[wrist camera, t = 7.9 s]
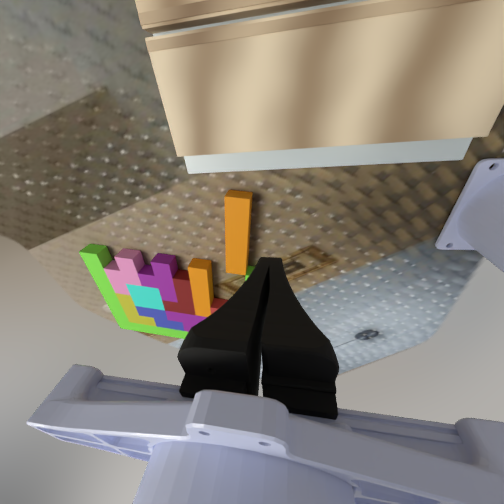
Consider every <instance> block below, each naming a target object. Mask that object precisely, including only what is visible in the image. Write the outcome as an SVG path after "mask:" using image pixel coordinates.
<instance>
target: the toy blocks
mask: <svg viewBox="0 0 504 504" xmlns="http://www.w3.org/2000/svg"><path fill="white" fill-rule="evenodd" d="M252 194H253V192H245V191H236V190H228V192H227V194H226V195H225V244H226V273H234V274H241V275H246V277H245V281H246V280H247V278H248V277H249V275H250V274H251V273H252V271H253V270H254V268H255V266H248V256H249V240H250V225H251V209H252ZM79 253H80V255H81V257H82V259H83V260H84V262H85V264H86V266H87V268H88V270H89V271H90V273H91V275H92V277H93V279H94V281H95V282H96V284H97V286H98V288H99V290H100V292H101V293H102V295H103V297H104V299H105V301H106V303H107V304H108V306H109V308H110V310H111V312H112V314H113V315H114V317H115V319H116V321H117V323H118V325H119V326H120V328H122V329H128V330H134V331H140V332H147V333H153V334H159V335H165V336H171V337H177V338H183V339H185V337H186V335H187V334H188V332H189V330H190V329H191V327H193V326H195V325H196V324H198V323H199V322H201V321H202V320H204V319H206V318H207V317H208V316H210V315H211V314H212V313H214V312H215V311H216V310H217V309H219V308H220V307H221V306H222V305H223V304H225V303H226V302H227V301H228V300H225V299H219V298H214V293H213V279H212V265H211V260H204V259H197V258H193V259H192V261H191V262H190V264H189V266H188V271H187V270H180V269H178V266H177V261H176V256H175V255H168V254H161V253H158V254H157V255H156V256H155V257H154V258H153V259H152V261H151V265H145V263H144V260H143V257H142V254H141V251H139V250H132V249H124V248H123V249H122V250H121V251H120V252H119V253H118V254H117V255H116V256H115V257H114V258H115V260H112V257H111V255H110V253H109V250H108V248H107V246H103V245H95V244H89V245H88V246H86V247H85V248H84V249H82V250H81V251H79Z"/></svg>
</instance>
